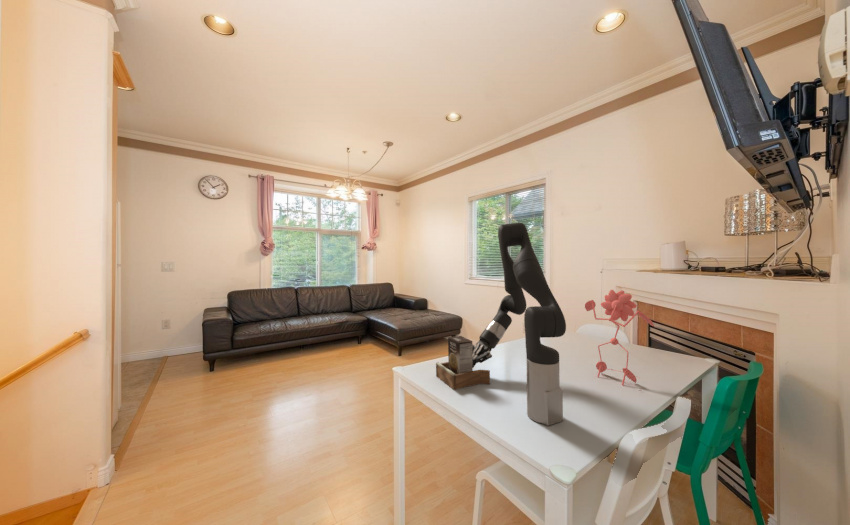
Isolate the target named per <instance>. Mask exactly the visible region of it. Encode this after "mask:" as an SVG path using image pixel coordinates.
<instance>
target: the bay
mask: <svg viewBox="0 0 850 525" xmlns="http://www.w3.org/2000/svg"><path fill="white" fill-rule="evenodd" d="M448 363H449V361H446V362H441V363H440V362H439V361H438V362H436V363H435V373H436V374H435V376H436V378H438V379H439V380H440V381H442V382H443V383H445V385H446V386H448V387H449V388H450V389H452V390H458V389H462V388H467V387H472V386H476V385H480V384H482V385H490V384H491V380H490V379H491V377H490V376H491V374H490V373H491V370H489V369H476V370H472V371H470V372H465V373H460V374H455V373H453V372H452V371H450V370H449V364H448Z"/></svg>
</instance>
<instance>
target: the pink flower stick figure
mask: <svg viewBox="0 0 850 525" xmlns="http://www.w3.org/2000/svg"><path fill="white" fill-rule="evenodd" d="M608 291H609V292H608V294H605V295H604V301H602V302H601V303H600V305H601V307H602V308H603V309H605V310H604V315H606V316H610V317H609V318H603V317H602V318H601V317H600V318H599V317H597V314H596V310H595V308H596V302H595V301H594V300H593V299H591V300H588V301H586V302H585V304H584V309H585V310H586V312H589V311H593V315H594V316H593V317H594V319H595V320H597V321H599V320H603V321H609V322H611V323H613V324H614V325H616V326H617V329H616V331H615V334H614V337H613V338H611V339H610V341H608V342H605V343H601V344H599V345H597V348H598V353H599V359H600V361H598V362H596V364H595V368H596V369H597V370H598V372H597V378H599V377H600V373H601V374H602V373H603V372H605V371H606V370H611V371H616V372H618V370H616V369H612V368H611V369H610V368H608V366H607V363H606V361H604V360H602V355H601V350H600V346H604V345H608V344H612V345H613V346H617V345H619V346H620V347H621V348H622V349H623V350H624V351H625V352H626V365H625V367H623V368H622V371H620V370H619V372H621V373H623V378H622V383H621V385H622V386H624V385H625V381H626V378H628V379H629V380H631V381H632V382H633V383H635V384H636V383H637V378H638V379H640V377H639V376H636V375H635V374H634V373H633V372H632V371H631V370H630V369H628V367H629V366H628V364H629V363H628V362H629V351H628V350H627V349H626V348H625V347H624V346H623V345H622V344H621V343H619V340H618V339H617V338H616V337H617V336H618V335H617V334H618V333H619V329H620V328H621V327H620V326H622V327H623V328H625V327H626V326H627V325H628V324H629V323H630V322H631V321H632V320H633V319H634V318H635V317H636V316H637V315H638V316H640V318H641V319H642V320H644V321H645V322H646V323H647V324H649V325H651V326H652V327H654V326H655V324H654V323H653V321H652V319H650V318H649V317H648V316H647V315H646V314H644V313H643V312H641V311H639V310H636V312H635V311H634V309H635V308H637V304H636V303H635V302H634V301H632V298H633V296H632V294H630V293H626V292H625V291H624V290H619V291H617V292H616V291H615V290H614V289H610V290H608ZM629 317H630V318H629ZM619 319H621V321H622V322H625V324H622V323H620V322H617V321H618V320H619ZM639 391H640V392H641V389H639V390H638V392H639Z"/></svg>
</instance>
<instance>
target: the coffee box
mask: <svg viewBox="0 0 850 525" xmlns="http://www.w3.org/2000/svg"><path fill="white" fill-rule="evenodd" d="M447 343H448V344H447V346H448V347H447V349H448V350H447V351H448V354H447V356H448V362H449V363H448V364H449V370H450V371H452V372H453V373H455V374H460V373H465V372H470V371H473V368H472V344H473V340H471V339H469V338H466V337H464V336H462V335H455V336H448V337H447Z"/></svg>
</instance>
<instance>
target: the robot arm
mask: <svg viewBox="0 0 850 525" xmlns="http://www.w3.org/2000/svg"><path fill="white" fill-rule="evenodd" d="M497 238H498V244H499V250H500V257H501V263H502V267H503V268H502V269H503V276H504V279H503V280H504V290H505V292H506V293H507V294H508V295H506V296H504V297H503V298H502V299H501V302H500V305H499V307H498V309H497V312H496V314H495V316H494V317H493V318H492V320H491V321H490V322H489V323H488V324H487V326H486V327H485V328H484V330H483V331H482V332H481V334H480V335H479V341H477V342H476V344H473V343H472V369H474V367H475V366H476V364H478V363H479V364H482V363H483V362H486V361H487V360H489V359H491V358H492V357H493V355H492V353H491V351H492V349H495V348H496V347H497V345H499V342H500V341H501V339H502V338H503V337H504V335H505V333H506V331H507V330H508V328H509V327H510V325H511V324H512V322H513V318H512V317H511V316H510V315H509V314H508V313H512V314H514V315H519V316H520V315H523V314H524V315H523V317H524V319H523V322H524V323H523V324H524V335H525V336H524V337H525V338H524V339H525V352H526V354H525V355H526V414H527V417H528V418H529V419H531V420H532V421H535V422H537V423H539V424H543V425H545V426H552V425H555V424H557V423H560V422H563V421H564V409H563V408H564V405H563V403H564V400H563V398H564V397H563V393H564V392H563V391H564V390H563V388H561V387H560V353H559V351H558V350H557V349H555V348H554V347H551V346H546V345H544V344H543V343H541V338H560V337H562V336H564V335H565V333H566V330H567V323H566V319H565V315H564V313H563V311H562V309H561V307H560V305H559V303H558V302H557V299H556V298H555V296H554V294H553V292H552V290H551V289H550V286H549V284H548V282H547V279H546V277H545V274H544V271H543V269H542V267H541V264H540V261H539V259H538V257H537V255H536V254H535V250H534V248H533V245H532V242H531V238H530V235H529V232H528V229H527V227H526V225H525V224H524V223H523V222H513V223H504V224H501V225H499V226H498V229H497ZM516 246H519V247H520V250H519V252H518V253H517V255H516V258H515V259H514V260H513V259H512V257H511V255H510V252H509V249H508V248H510V247H516ZM524 291H525V292H526V293H527V294H529V295H530V296H531V297H532V298H533V299H535V300H536V301H537V302H538V304H539V306H528V307H527V301H526V297H525V294H524Z"/></svg>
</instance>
